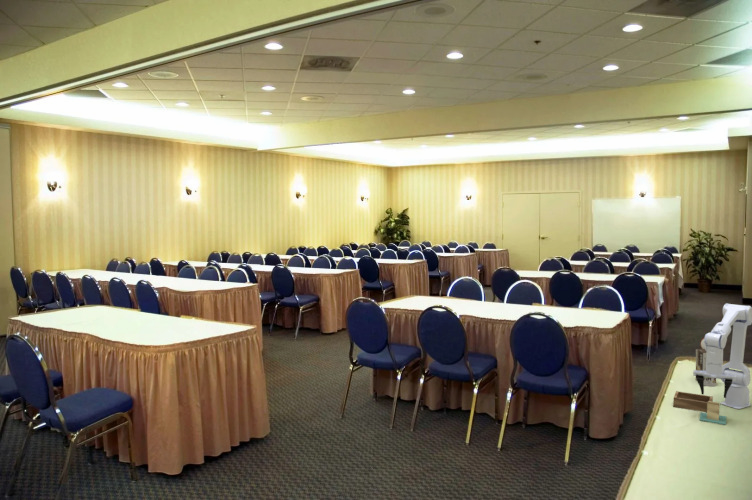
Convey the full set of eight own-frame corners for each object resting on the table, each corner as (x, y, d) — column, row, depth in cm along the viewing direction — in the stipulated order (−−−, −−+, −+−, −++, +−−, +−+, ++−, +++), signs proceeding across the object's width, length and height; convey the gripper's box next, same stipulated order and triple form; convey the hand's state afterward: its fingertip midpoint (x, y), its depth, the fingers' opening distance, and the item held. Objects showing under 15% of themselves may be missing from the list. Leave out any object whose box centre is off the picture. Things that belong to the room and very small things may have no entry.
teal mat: (700, 413, 228) (700, 412, 228) (726, 417, 223) (726, 416, 223) (699, 420, 220) (699, 419, 220) (725, 425, 215) (725, 423, 215)
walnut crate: (675, 399, 244) (676, 391, 244) (712, 405, 236) (712, 396, 236) (673, 406, 236) (673, 397, 236) (711, 413, 228) (711, 403, 228)
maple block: (707, 415, 224) (708, 401, 224) (719, 417, 222) (719, 402, 222) (706, 418, 221) (707, 404, 221) (718, 420, 219) (718, 405, 218)
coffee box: (716, 386, 260) (717, 353, 259) (701, 385, 262) (702, 353, 260) (709, 380, 269) (709, 348, 268) (694, 380, 270) (695, 348, 269)
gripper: (692, 362, 221) (692, 395, 222) (735, 367, 212) (734, 401, 213) (694, 358, 226) (693, 390, 227) (736, 363, 218) (735, 396, 219)
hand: (713, 395), depth 221 cm, fingers open, 7 cm apart
